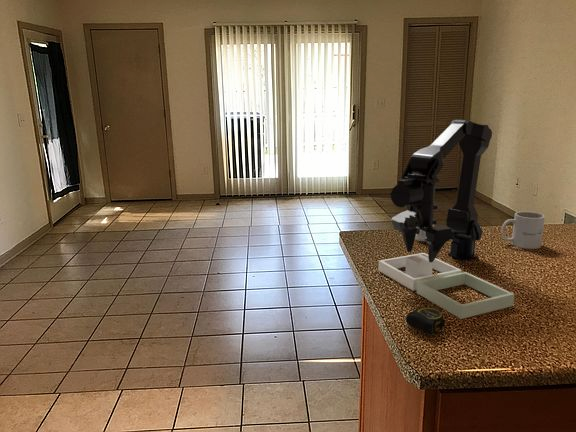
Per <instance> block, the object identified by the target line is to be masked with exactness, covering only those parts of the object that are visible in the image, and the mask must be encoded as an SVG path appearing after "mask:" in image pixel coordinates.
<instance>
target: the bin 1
mask: <svg viewBox="0 0 576 432" xmlns="http://www.w3.org/2000/svg"><path fill="white" fill-rule="evenodd" d="M417 255H423V256H425V257H427V258H429V257H428V253H426V252H419V253H414V254H409V255H405V256H404V255H402V256H397V257H392V258H387V259H386V258H385V259H382V260H378V268H377V269H378V270H377V271H378V272H380V273H382V274H383V275H385V276H387V277H389V278H390V279H392V280H394V281H395V282H397V283H398V284H400V285H402V286H403V287H406V288H407V289H409V290H411V291H412V292H413V291H417V282H419V281H424V280H429V279H433V278H438V277H443V276H448V275H453V274H458V273H463V270H462V269H460V268H458V267H456V266H453V265H452V264H449V263H447V262H446V261H443V260H441V259H438V258H437V257H436V258H435V259H434V261H433V267H432V270H435V271H437V272H439V273H435V274H433V273H432V275H428V276H423V277H418V278H413V277H411V276H409V275H407V274H406V273H405V271H402V270H400V269H401V268H406V257H411V256H417Z"/></svg>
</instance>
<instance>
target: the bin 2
mask: <svg viewBox="0 0 576 432" xmlns="http://www.w3.org/2000/svg"><path fill="white" fill-rule="evenodd" d="M463 285H466V286H468V287H469V288H472V289H474V290H476V291H478V292H480V293H482V294H484V295H486V296H488V297H489V298H485V299H480V300H476V301H472V302H466V303H463V304H462V303H461V302H458V301H457V300H455V299H453V298H451V297H450V296H448V295H446V294H444V293H442V292H440V291H439V290H443V289H448V288H453V287H457V286H463ZM416 294H418V295H419V296H421V297H422V298H425V299H426V300H427V301H429V302H431V303H433V304H434V305H437V306H438V307H439V308H441V309H443V310H445V311H446V312H449V313H450V314H452V315H453V316H455V317H457V318H459V319H460V320H463V319H467V318H470V317H471V318H472V317H474V316H475V317H476V316H478V315H483V314H486V313H492V312H494V311H499V310H502V309H506V308H511V307H513V306H514V301H515V300H514V299H515V293H512V292H510V291H508V290H507V289H504V288H502V287H500V286H498V285H495V284H493V283H492V282H489V281H487V280H485V279H482V278H480V277H478V276H475V275H473V274H471V273H470V272H466V271H462V273H458V274H453V275H448V276H443V277H438V278H433V279H429V280H424V281H419V282H417V290H416Z"/></svg>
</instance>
